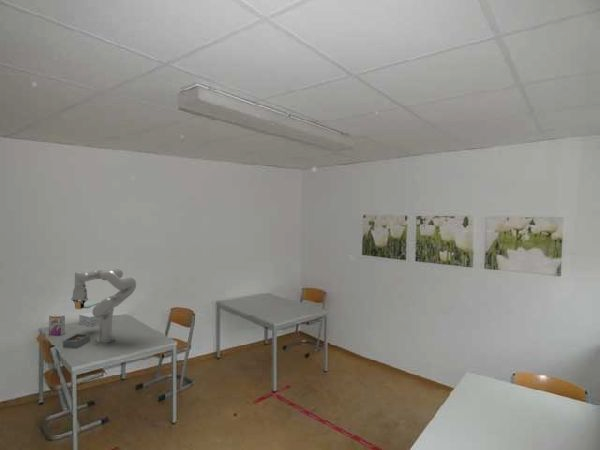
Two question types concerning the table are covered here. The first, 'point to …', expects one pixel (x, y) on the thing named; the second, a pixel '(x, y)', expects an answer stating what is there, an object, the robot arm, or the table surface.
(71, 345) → the tub
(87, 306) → the tool with wooden handle
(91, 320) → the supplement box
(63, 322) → the candy bar box
